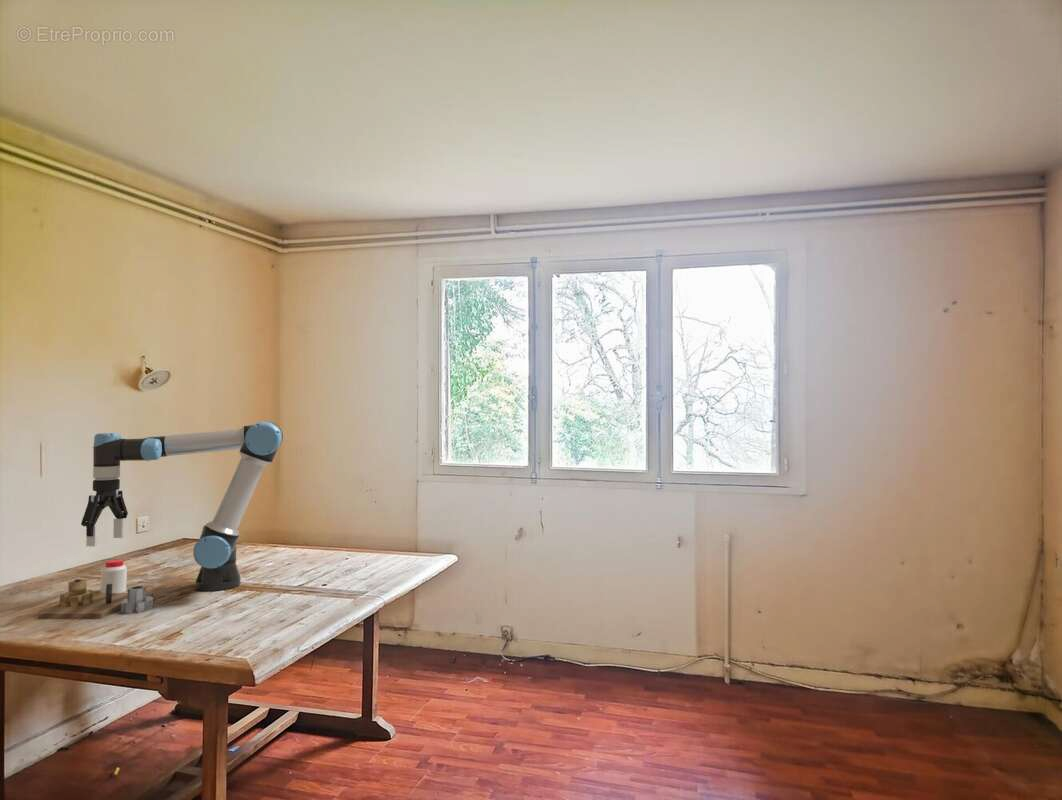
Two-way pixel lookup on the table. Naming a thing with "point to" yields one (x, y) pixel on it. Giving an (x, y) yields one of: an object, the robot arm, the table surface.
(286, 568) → the table surface
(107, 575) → the pill bottle
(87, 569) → the table surface
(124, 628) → the table surface
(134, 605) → the steel gear
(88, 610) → the gear board
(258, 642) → the table surface
